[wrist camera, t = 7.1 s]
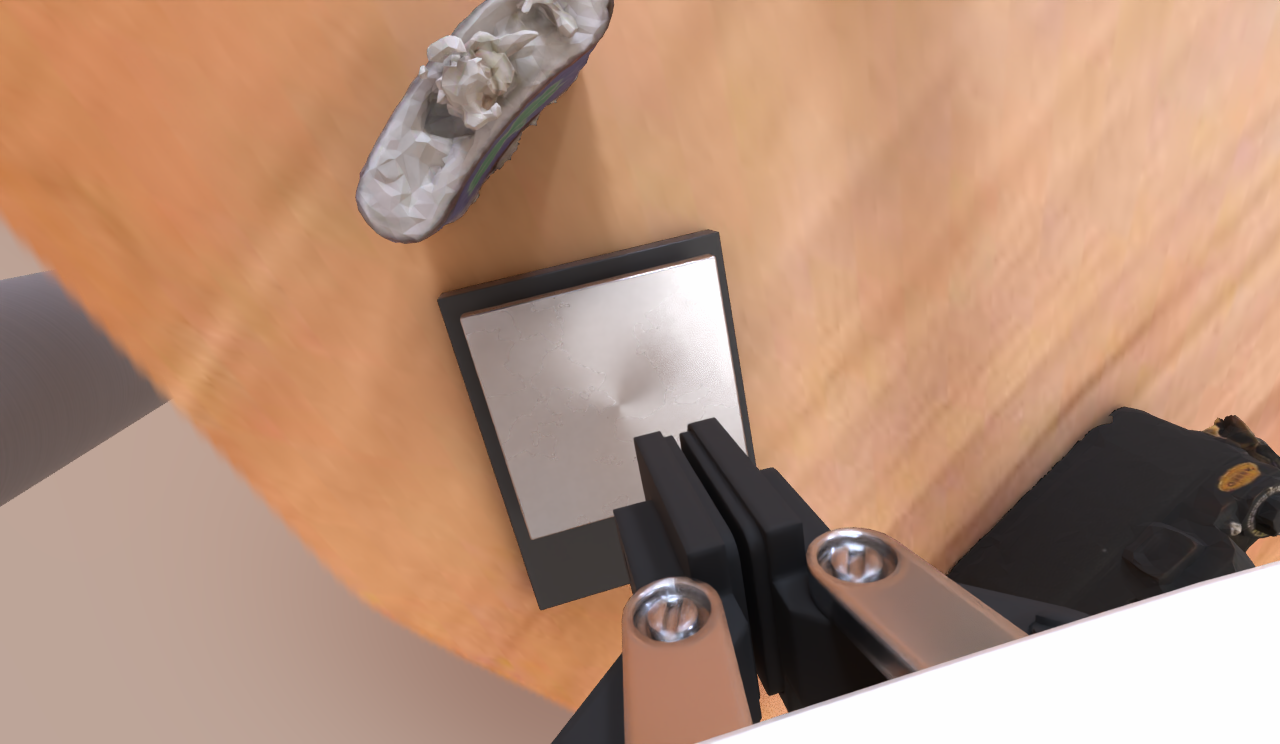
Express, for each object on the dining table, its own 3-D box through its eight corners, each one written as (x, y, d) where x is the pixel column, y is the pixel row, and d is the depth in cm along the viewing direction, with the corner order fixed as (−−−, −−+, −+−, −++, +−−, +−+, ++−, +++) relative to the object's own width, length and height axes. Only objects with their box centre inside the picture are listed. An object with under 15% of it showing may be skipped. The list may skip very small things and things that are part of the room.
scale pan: (530, 531, 26) (530, 541, 25) (461, 313, 23) (458, 318, 22) (745, 469, 27) (752, 477, 26) (710, 252, 24) (716, 255, 23)
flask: (448, 236, 25) (396, 272, 15) (387, 185, 24) (285, 186, 14) (597, 60, 24) (651, -30, 14) (540, -1, 23) (553, -146, 13)
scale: (541, 599, 31) (543, 641, 28) (440, 292, 25) (430, 307, 22) (759, 534, 32) (782, 568, 29) (709, 228, 27) (731, 234, 24)
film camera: (1060, 658, 40) (1225, 805, 30) (916, 619, 36) (1053, 771, 27) (1220, 423, 36) (1465, 509, 27) (1077, 354, 32) (1301, 425, 23)
